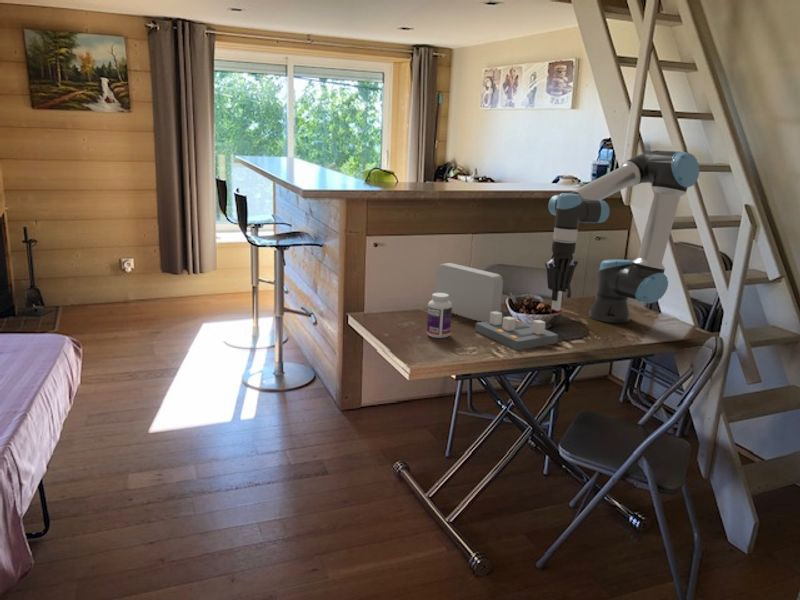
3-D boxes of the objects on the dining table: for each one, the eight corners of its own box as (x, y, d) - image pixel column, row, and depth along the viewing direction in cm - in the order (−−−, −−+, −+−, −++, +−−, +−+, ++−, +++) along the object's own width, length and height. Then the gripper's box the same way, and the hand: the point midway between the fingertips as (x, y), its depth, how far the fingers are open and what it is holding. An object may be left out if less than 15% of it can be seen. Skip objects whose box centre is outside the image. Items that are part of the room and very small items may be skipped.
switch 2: (538, 330, 214) (539, 319, 213) (544, 333, 211) (545, 322, 210) (531, 332, 212) (532, 320, 211) (537, 334, 210) (538, 323, 209)
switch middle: (508, 327, 216) (509, 316, 215) (514, 330, 214) (515, 318, 213) (502, 328, 215) (503, 317, 214) (507, 331, 212) (508, 319, 211)
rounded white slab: (503, 321, 234) (507, 274, 230) (490, 325, 229) (494, 277, 224) (446, 304, 254) (449, 261, 249) (433, 307, 249) (436, 263, 244)
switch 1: (496, 321, 222) (496, 311, 221) (501, 324, 219) (502, 313, 218) (489, 322, 220) (490, 311, 219) (494, 325, 218) (495, 314, 217)
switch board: (514, 325, 230) (515, 316, 229) (557, 343, 212) (558, 334, 211) (475, 330, 221) (475, 322, 220) (516, 350, 203) (517, 341, 202)
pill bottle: (447, 331, 219) (449, 291, 215) (452, 339, 211) (455, 297, 208) (424, 331, 218) (426, 291, 214) (428, 339, 210) (431, 297, 206)
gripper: (570, 238, 214) (561, 305, 220) (541, 239, 207) (533, 308, 213) (586, 242, 208) (577, 310, 214) (558, 243, 201) (549, 314, 207)
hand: (555, 309), depth 213 cm, fingers closed
